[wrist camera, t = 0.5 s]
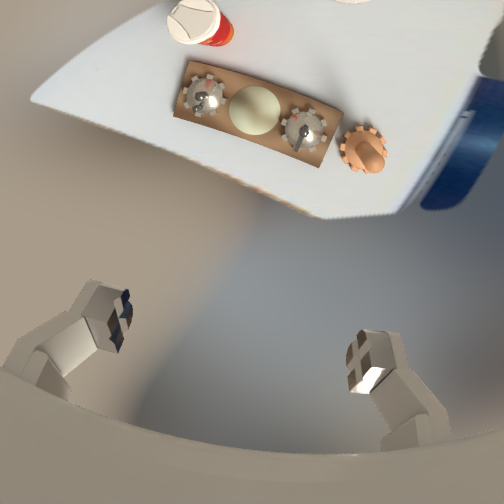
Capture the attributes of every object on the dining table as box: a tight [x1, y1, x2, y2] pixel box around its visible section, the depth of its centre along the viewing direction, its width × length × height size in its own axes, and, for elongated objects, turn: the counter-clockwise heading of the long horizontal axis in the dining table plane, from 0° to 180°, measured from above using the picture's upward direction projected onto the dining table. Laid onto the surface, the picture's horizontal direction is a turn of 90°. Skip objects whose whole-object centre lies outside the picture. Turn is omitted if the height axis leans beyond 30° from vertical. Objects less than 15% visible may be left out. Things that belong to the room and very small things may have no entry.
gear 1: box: [183, 74, 228, 117], centre depth 45 cm, size 8×8×4 cm
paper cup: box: [167, 0, 234, 46], centre depth 35 cm, size 8×8×14 cm
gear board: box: [173, 61, 343, 168], centre depth 47 cm, size 11×28×2 cm, turn 71°
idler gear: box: [340, 125, 387, 174], centre depth 44 cm, size 8×8×10 cm
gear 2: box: [281, 107, 327, 153], centre depth 45 cm, size 8×8×4 cm
